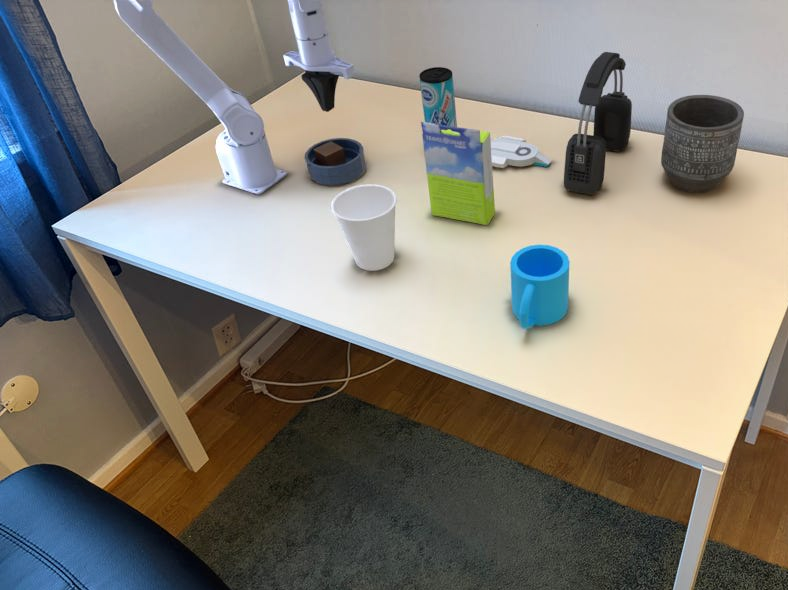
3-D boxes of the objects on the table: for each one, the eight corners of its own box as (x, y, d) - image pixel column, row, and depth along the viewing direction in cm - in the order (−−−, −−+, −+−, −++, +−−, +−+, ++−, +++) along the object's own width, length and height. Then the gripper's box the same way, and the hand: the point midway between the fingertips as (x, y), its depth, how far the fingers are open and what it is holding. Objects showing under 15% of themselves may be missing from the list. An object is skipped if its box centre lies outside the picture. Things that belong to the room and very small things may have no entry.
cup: (396, 282, 113) (386, 222, 105) (336, 277, 115) (321, 218, 107) (413, 244, 120) (404, 185, 112) (356, 240, 122) (343, 182, 114)
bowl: (297, 179, 137) (292, 159, 134) (334, 152, 143) (329, 133, 140) (342, 192, 132) (338, 173, 129) (378, 164, 139) (374, 145, 136)
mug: (522, 284, 111) (520, 240, 105) (574, 294, 108) (576, 249, 103) (495, 336, 103) (492, 292, 97) (551, 348, 101) (551, 303, 95)
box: (496, 213, 125) (491, 118, 112) (487, 227, 122) (481, 131, 110) (440, 203, 128) (429, 110, 115) (430, 216, 125) (417, 122, 113)
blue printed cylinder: (422, 152, 141) (412, 76, 130) (442, 139, 144) (434, 64, 133) (444, 161, 138) (436, 84, 127) (465, 148, 141) (459, 72, 130)
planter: (724, 204, 122) (738, 133, 113) (651, 193, 126) (660, 123, 117) (735, 167, 130) (749, 98, 121) (666, 158, 134) (675, 90, 125)
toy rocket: (460, 162, 137) (459, 151, 136) (484, 138, 143) (483, 127, 141) (538, 179, 131) (538, 167, 130) (559, 153, 137) (560, 142, 136)
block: (317, 168, 138) (313, 149, 135) (335, 160, 140) (330, 141, 137) (330, 175, 136) (325, 156, 133) (347, 167, 138) (343, 148, 135)
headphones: (594, 202, 125) (601, 89, 111) (559, 195, 127) (562, 83, 113) (632, 140, 139) (642, 33, 125) (600, 135, 141) (606, 29, 127)
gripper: (359, 31, 125) (372, 107, 135) (295, 19, 131) (312, 92, 141) (333, 47, 121) (348, 123, 131) (268, 34, 127) (288, 108, 137)
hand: (328, 109), depth 135 cm, fingers closed
